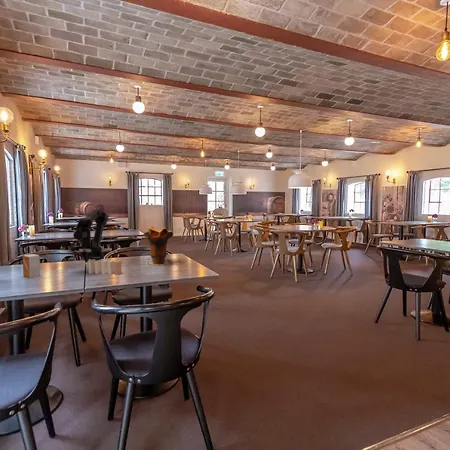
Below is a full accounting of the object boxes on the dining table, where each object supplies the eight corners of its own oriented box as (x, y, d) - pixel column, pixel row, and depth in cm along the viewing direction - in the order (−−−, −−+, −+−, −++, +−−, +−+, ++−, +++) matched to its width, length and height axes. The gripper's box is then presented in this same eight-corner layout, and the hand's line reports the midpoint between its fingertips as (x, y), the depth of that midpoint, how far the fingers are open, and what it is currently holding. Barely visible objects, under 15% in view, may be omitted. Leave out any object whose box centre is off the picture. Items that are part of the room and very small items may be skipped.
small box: (23, 276, 193) (22, 255, 192) (34, 274, 198) (33, 253, 197) (29, 278, 188) (28, 256, 187) (40, 276, 194) (39, 255, 193)
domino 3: (106, 272, 204) (105, 259, 204) (108, 272, 204) (108, 260, 203) (101, 274, 199) (101, 261, 199) (104, 274, 199) (103, 261, 198)
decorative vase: (170, 258, 248) (169, 223, 245) (175, 266, 227) (174, 227, 223) (142, 260, 242) (141, 224, 238) (145, 268, 220) (144, 228, 216)
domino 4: (112, 272, 203) (112, 260, 203) (114, 272, 203) (114, 260, 203) (108, 274, 199) (107, 261, 198) (110, 274, 198) (110, 261, 198)
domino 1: (93, 271, 206) (93, 259, 205) (95, 271, 206) (95, 259, 205) (88, 273, 201) (88, 260, 200) (91, 273, 201) (90, 261, 200)
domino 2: (99, 271, 205) (99, 259, 204) (102, 272, 205) (101, 259, 204) (95, 273, 200) (94, 261, 200) (97, 273, 200) (97, 261, 199)
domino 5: (119, 272, 203) (118, 260, 202) (121, 272, 202) (121, 260, 202) (114, 274, 198) (114, 261, 197) (117, 274, 197) (116, 262, 197)
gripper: (106, 236, 208) (106, 260, 210) (80, 236, 212) (81, 259, 213) (96, 238, 197) (97, 263, 199) (69, 238, 201) (70, 262, 202)
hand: (86, 262), depth 204 cm, fingers closed
